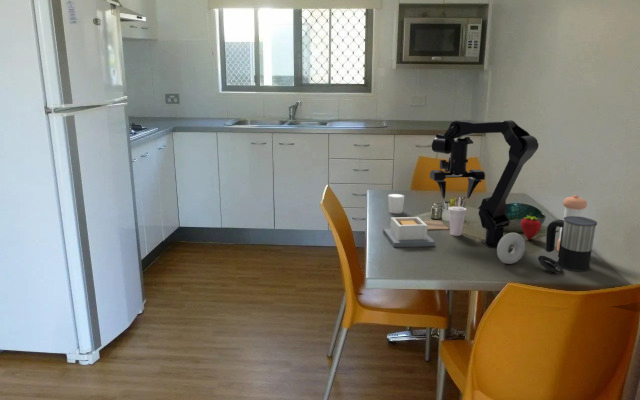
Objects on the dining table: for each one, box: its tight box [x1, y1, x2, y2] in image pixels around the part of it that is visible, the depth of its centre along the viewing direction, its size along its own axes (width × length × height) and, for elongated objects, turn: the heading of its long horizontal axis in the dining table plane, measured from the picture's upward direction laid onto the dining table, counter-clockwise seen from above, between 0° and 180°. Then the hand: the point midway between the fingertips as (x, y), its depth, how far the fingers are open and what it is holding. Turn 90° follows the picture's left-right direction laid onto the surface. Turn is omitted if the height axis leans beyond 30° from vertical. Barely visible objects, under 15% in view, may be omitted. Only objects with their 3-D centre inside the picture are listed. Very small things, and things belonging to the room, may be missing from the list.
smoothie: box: [448, 196, 468, 237], centre depth 190 cm, size 6×6×14 cm
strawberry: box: [520, 213, 542, 240], centre depth 186 cm, size 6×8×10 cm
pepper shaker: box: [556, 194, 588, 252], centre depth 173 cm, size 7×7×19 cm
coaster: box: [422, 219, 450, 231], centre depth 202 cm, size 11×11×1 cm
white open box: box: [382, 216, 436, 248], centre depth 185 cm, size 16×14×6 cm
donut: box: [496, 232, 526, 265], centre depth 163 cm, size 10×4×10 cm, turn 113°
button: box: [400, 221, 418, 225], centre depth 185 cm, size 5×5×2 cm
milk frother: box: [537, 216, 598, 274], centre depth 159 cm, size 14×16×15 cm
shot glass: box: [387, 193, 405, 214], centre depth 220 cm, size 7×7×7 cm
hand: (455, 198), depth 191 cm, fingers open, 9 cm apart
